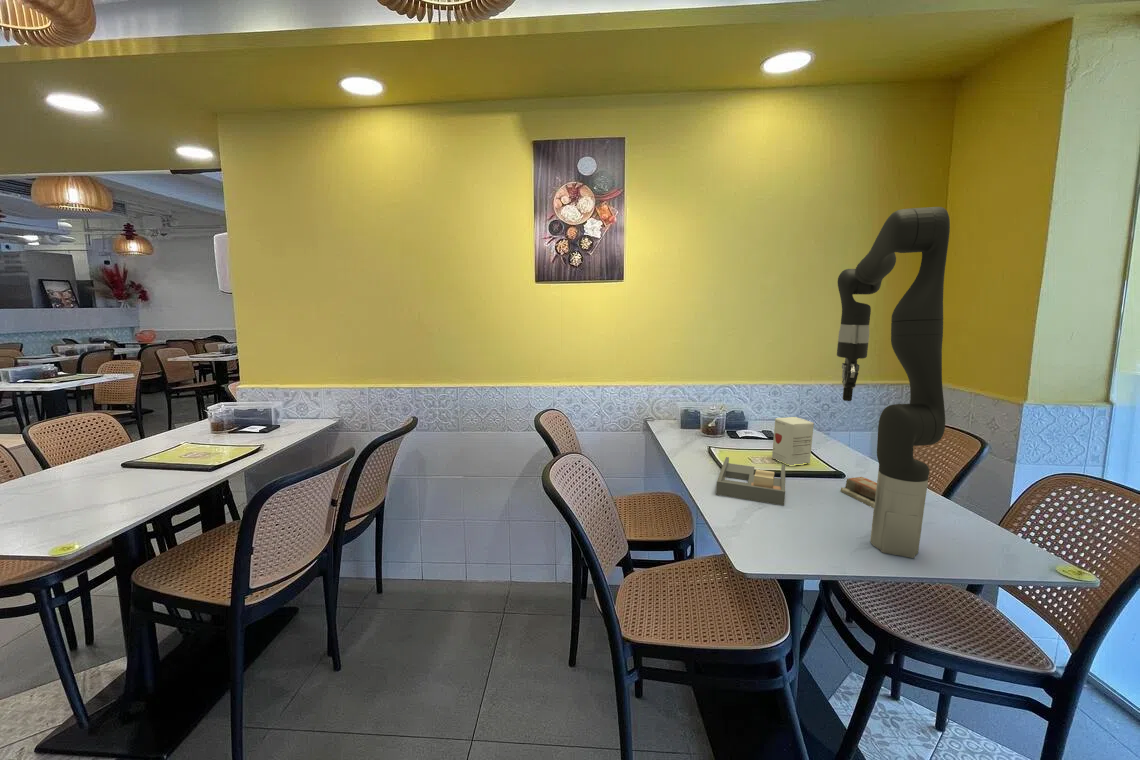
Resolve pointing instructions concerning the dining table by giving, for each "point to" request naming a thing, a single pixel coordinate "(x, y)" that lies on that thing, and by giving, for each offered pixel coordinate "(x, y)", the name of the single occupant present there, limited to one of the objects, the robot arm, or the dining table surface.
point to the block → (764, 478)
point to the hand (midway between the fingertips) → (846, 400)
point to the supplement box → (792, 440)
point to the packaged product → (861, 490)
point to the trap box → (749, 485)
